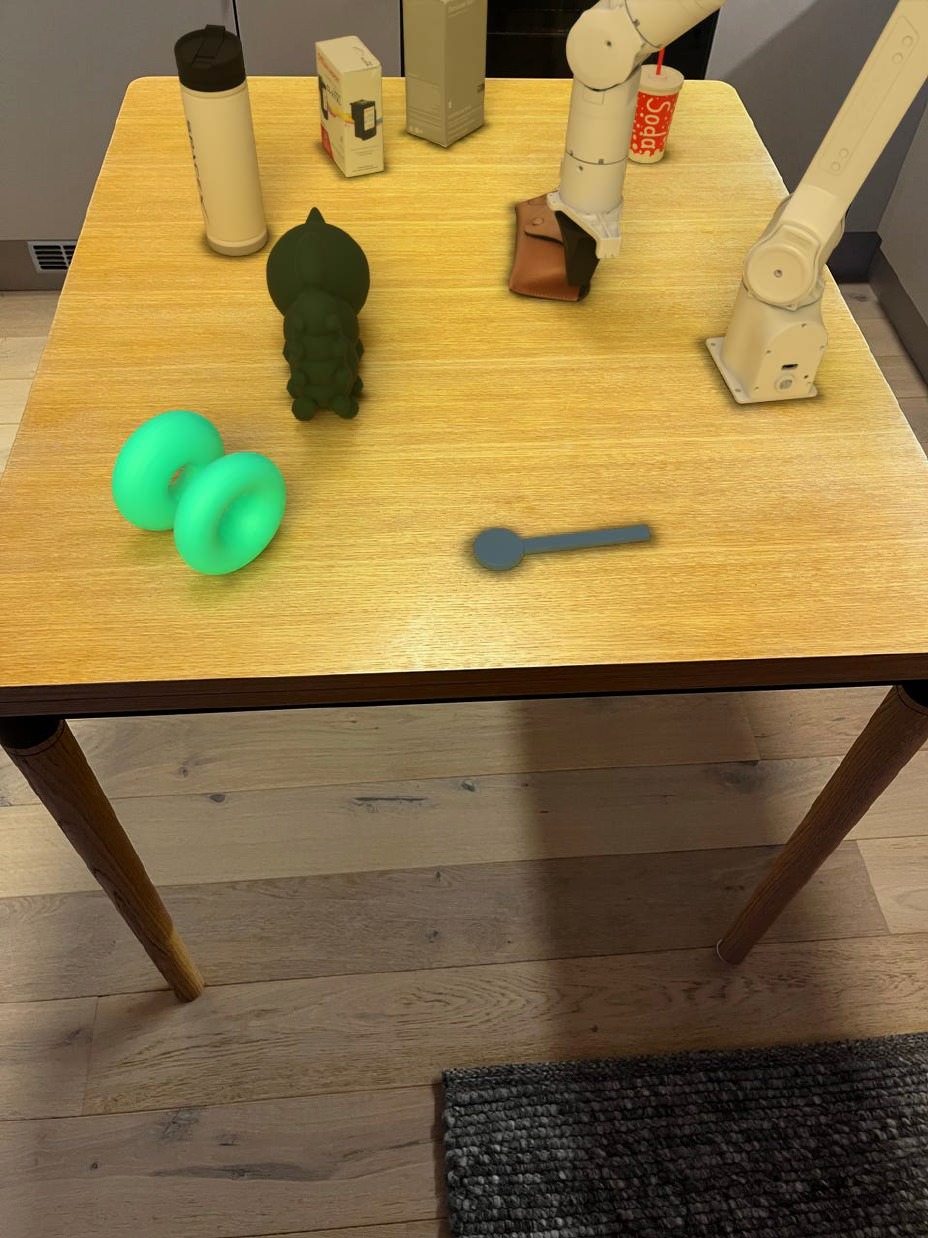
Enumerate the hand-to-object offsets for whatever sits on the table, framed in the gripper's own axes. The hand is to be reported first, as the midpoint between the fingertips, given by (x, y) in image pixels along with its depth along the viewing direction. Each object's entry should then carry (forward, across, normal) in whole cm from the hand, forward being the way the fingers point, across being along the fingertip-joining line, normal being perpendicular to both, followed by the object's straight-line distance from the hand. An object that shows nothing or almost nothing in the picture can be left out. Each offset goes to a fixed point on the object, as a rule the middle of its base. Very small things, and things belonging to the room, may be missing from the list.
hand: (578, 283), depth 100 cm
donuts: (+3, +27, -37) cm, 46 cm away
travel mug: (+3, -16, -33) cm, 37 cm away
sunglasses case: (+3, -10, 0) cm, 10 cm away
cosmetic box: (+3, -38, -7) cm, 39 cm away
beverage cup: (+3, -29, +16) cm, 33 cm away
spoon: (+2, +32, -10) cm, 34 cm away
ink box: (+3, -32, -19) cm, 37 cm away
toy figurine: (+3, +7, -26) cm, 27 cm away
